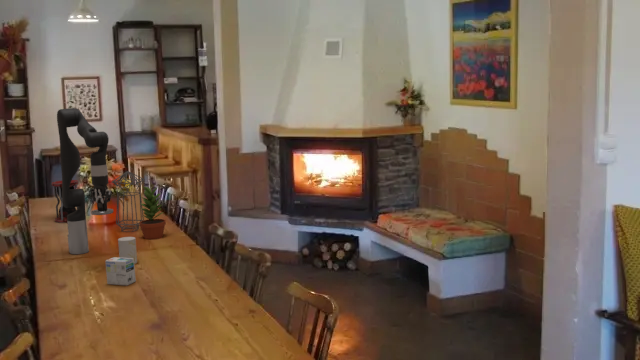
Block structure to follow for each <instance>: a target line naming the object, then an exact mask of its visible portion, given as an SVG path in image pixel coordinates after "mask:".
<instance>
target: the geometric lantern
mask: <svg viewBox="0 0 640 360" xmlns="http://www.w3.org/2000/svg"><path fill="white" fill-rule="evenodd" d="M128 176H129V178H128ZM130 181H131V182H130ZM145 181H146V179H145V178H143V177H141V176H140V175H137V174H135V173H134V172H132V171H125V172H124V173H122V174H121V175H120V176H118V177H117V178H116V179H114V180H112V181H111V184H114V185H115V188H116V214H115V215H116V216H115V224H116V225H117V226H118V227H120V229H121V232H126V233H127V232H129V230H130V227H128V226H132V232H136V231H137V230H139V229H140V226H139V222H141V221H143V220H144V219H145V218H144V216H143V215H144V211H143V210H142V209H141V208H143V205H141V204H143V202H142V201H143V200H142V193H141V191H142V190H141V188H142V186H143V185H142V184H143V183H144V182H145ZM122 185H124V187H122ZM126 185H127V186H126ZM132 186H135V187H136V189H135V190H134V191H129V189H130V188H131V187H132ZM118 187H119V188H120V189H119V191H118ZM124 189H126V191H124ZM121 191H123V192H121ZM137 195H139V210H140V219H138V213H137V204H136V196H137ZM120 196H122V201H123V202H122V220H120V204H119V203H120V199H119V197H120ZM125 197H130V204H131V219H129V214H128V213H129V212H128V211H129V209H128V207H129V205H128V202H129V201H126V219H124V216H125ZM133 199H134V210H135V219H134V211H133ZM125 221H126V222H128V221H129V222H130V221H131V223H132V224H131V223H125ZM134 221H135V222H136V223H134ZM122 222H123V223H122ZM127 229H128V230H127Z"/></svg>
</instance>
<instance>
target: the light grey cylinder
mask: <svg viewBox="0 0 640 360" xmlns="http://www.w3.org/2000/svg"><path fill="white" fill-rule="evenodd" d="M117 242H118V243H117V244H118V253H119V255H118V258H134V265H135V264H137V263H138V259H137V258H138V256H137V255H138V253H137V240H136V237H134V236H124V237H120V238H118V239H117Z"/></svg>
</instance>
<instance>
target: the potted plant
mask: <svg viewBox="0 0 640 360" xmlns="http://www.w3.org/2000/svg"><path fill="white" fill-rule="evenodd" d="M142 188H143V189H144V192H143V194H144V196H145V197H142V196H141V199H143V200H142V201H143V202H144V203H142V204H141V205H142V208H141V211H142V210H143V217H145V218H146V219H145V220H143V219H142V220H143V221H141V222H140V221H138V223H139V228H140V230H141V233H142V235H143V238H144V239H145V240H157V238H158V239H162V238H163V236H164V233H165V232H164V231H165V226H166V225H167V224H166V223H167V221H166V219H164V218H163V219H161V218H157V217H158V216H161V215H162V214H163V213H164V212H165V211H164V212H163V211H162V212H160V213H159V211H161V210H162V208H161V207H162V204H159V200H160V199H161V197H160V195H161V193H157V194H156V195H154V194H155V192H156V190H157V189H158V188H159V186H157V187H155V188H154V189H153V190H151V189H150V187H148V186H142ZM143 207H144V208H143ZM157 213H158V214H157ZM156 214H157V215H156Z"/></svg>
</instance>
